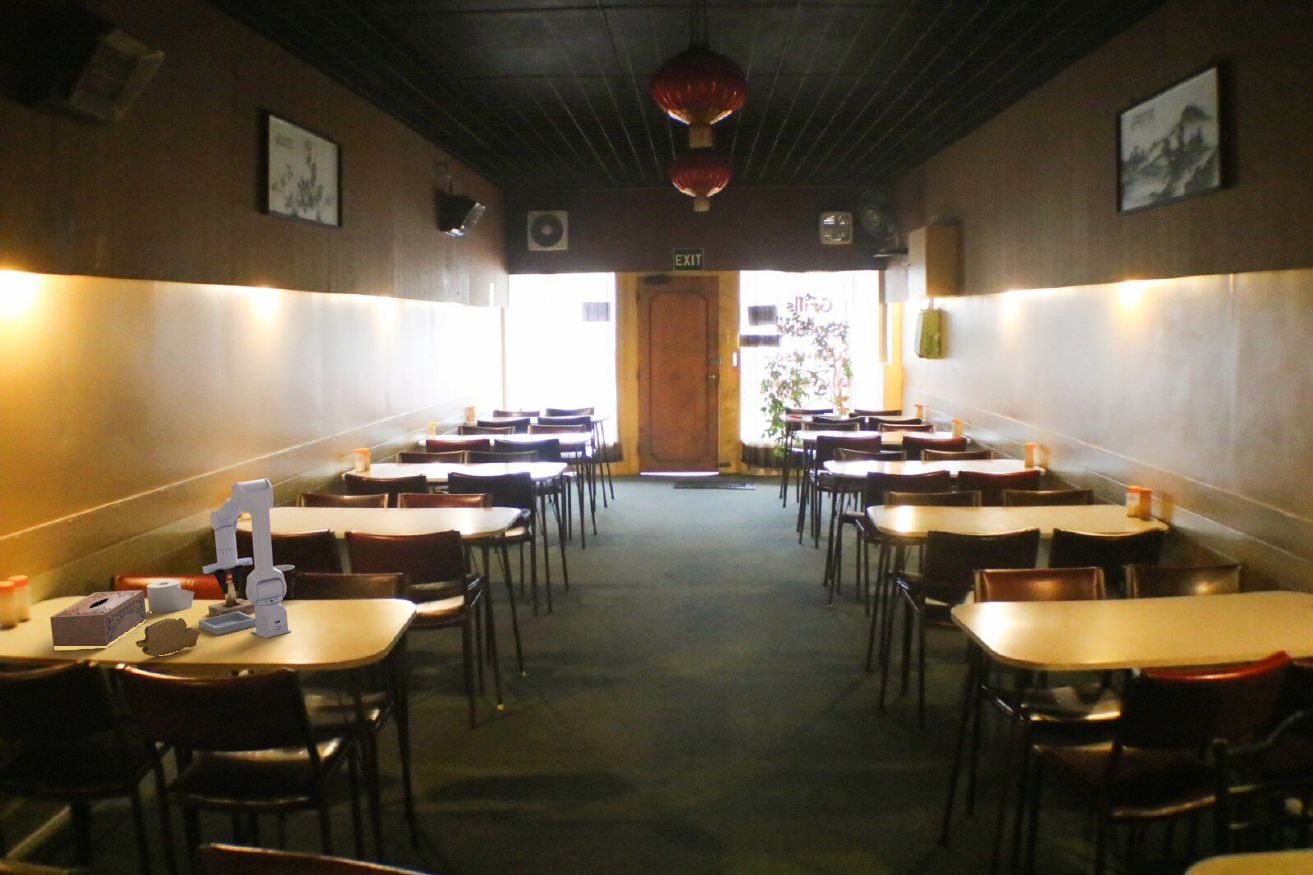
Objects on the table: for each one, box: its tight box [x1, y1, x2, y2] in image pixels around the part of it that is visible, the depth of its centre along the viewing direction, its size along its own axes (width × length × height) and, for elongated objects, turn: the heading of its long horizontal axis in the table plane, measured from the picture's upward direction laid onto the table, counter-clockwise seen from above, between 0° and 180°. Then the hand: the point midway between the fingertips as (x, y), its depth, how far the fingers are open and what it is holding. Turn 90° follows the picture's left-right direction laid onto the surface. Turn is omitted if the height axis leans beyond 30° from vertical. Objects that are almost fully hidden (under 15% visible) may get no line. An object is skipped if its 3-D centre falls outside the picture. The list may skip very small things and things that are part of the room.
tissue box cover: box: [49, 589, 147, 646], centre depth 306 cm, size 26×14×10 cm, turn 3°
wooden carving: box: [135, 617, 201, 657], centre depth 286 cm, size 16×5×10 cm, turn 139°
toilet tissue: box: [146, 579, 195, 614], centre depth 331 cm, size 9×13×9 cm
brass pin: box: [224, 580, 237, 606], centre depth 322 cm, size 3×3×7 cm
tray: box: [198, 611, 256, 637], centre depth 309 cm, size 12×12×2 cm
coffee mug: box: [273, 564, 307, 601], centre depth 338 cm, size 12×9×10 cm
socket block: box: [207, 598, 255, 617], centre depth 323 cm, size 10×10×3 cm
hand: (230, 591), depth 322 cm, fingers closed on brass pin, 3 cm apart
